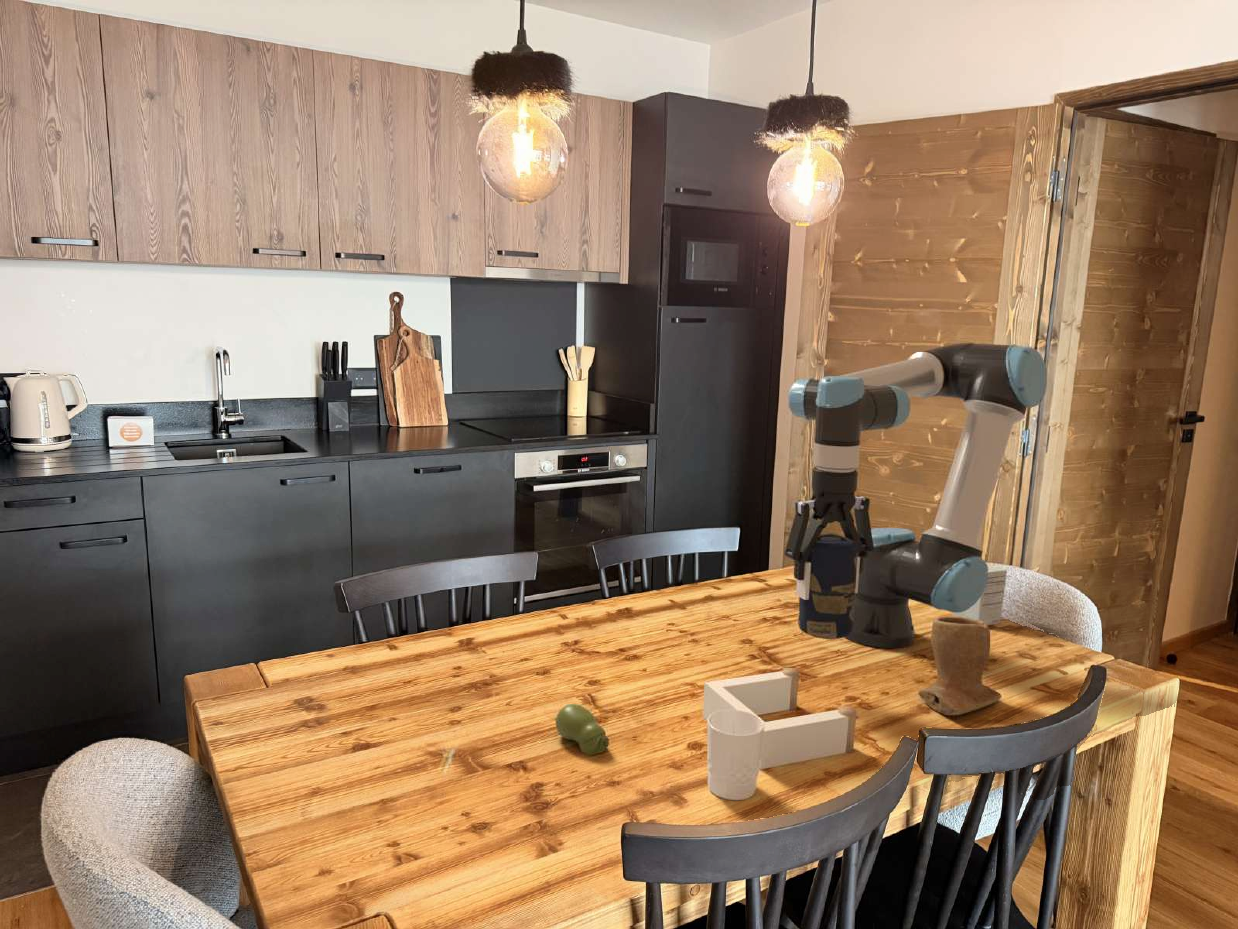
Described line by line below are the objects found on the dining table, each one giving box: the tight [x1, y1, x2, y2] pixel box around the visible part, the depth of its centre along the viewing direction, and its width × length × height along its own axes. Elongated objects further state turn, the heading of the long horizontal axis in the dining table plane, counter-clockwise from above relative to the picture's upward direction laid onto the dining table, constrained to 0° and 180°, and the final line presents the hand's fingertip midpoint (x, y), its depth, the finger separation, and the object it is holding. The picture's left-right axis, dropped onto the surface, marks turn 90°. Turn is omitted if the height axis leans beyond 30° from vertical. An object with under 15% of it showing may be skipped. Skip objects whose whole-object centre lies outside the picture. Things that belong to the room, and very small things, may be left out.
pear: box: [555, 703, 610, 757], centre depth 134 cm, size 6×5×10 cm
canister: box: [797, 533, 858, 640], centre depth 151 cm, size 10×10×18 cm
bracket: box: [702, 667, 857, 770], centre depth 139 cm, size 17×18×6 cm
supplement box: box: [953, 562, 1008, 626], centre depth 196 cm, size 7×7×13 cm
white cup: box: [706, 710, 765, 801], centre depth 122 cm, size 8×8×10 cm
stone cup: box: [917, 616, 1002, 717], centre depth 152 cm, size 15×12×15 cm
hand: (826, 594), depth 151 cm, fingers closed on canister, 9 cm apart
